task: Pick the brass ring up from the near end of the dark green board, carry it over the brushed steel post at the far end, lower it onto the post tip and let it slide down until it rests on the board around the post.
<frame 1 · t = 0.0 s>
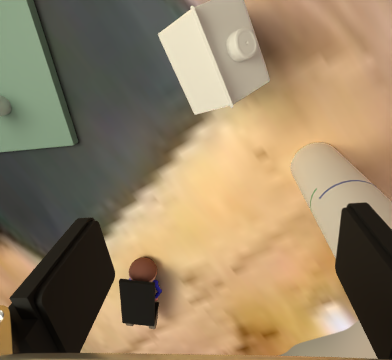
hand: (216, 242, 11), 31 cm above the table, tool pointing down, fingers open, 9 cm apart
milk carton: (218, 53, 36), on the table
figurine character: (147, 281, 56), on the table
cylindrical container: (314, 164, 42), on the table
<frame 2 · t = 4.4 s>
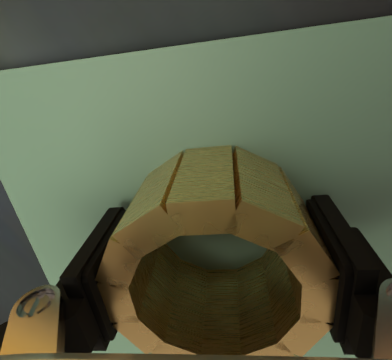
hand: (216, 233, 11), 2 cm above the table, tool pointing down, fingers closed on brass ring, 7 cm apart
brass ring: (217, 224, 12), point 1 cm above the table, touching gripper, post board
post board: (229, 321, 17), on the table
when the fingers open (9 cm above the table, at t = 11.9 s): brass ring drops 7 cm, resting on post board.
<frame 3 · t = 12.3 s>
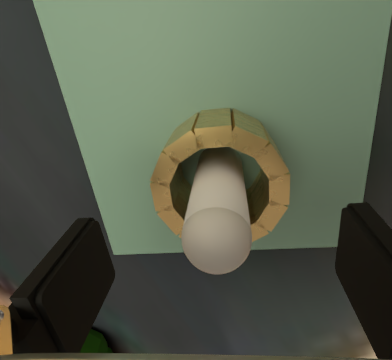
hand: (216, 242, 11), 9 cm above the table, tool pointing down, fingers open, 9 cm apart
brass ring: (220, 163, 18), point 1 cm above the table, touching post board
post board: (207, 24, 16), on the table
bell pepper: (88, 339, 30), on the table
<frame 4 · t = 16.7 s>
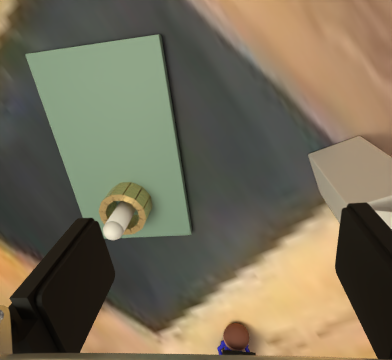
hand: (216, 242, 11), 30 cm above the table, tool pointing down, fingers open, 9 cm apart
milk carton: (337, 165, 41), on the table
brass ring: (130, 201, 45), point 1 cm above the table, touching post board
figurine character: (233, 340, 60), on the table
post board: (121, 152, 43), on the table
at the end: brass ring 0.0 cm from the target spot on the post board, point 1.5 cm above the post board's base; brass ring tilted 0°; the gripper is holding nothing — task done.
